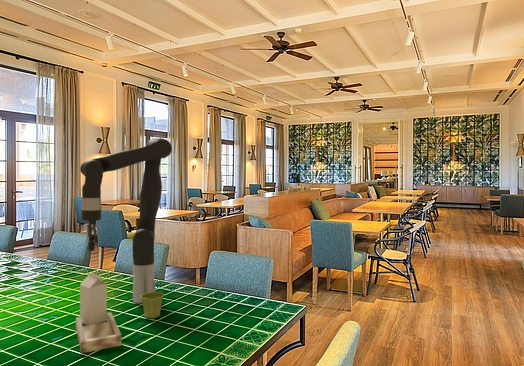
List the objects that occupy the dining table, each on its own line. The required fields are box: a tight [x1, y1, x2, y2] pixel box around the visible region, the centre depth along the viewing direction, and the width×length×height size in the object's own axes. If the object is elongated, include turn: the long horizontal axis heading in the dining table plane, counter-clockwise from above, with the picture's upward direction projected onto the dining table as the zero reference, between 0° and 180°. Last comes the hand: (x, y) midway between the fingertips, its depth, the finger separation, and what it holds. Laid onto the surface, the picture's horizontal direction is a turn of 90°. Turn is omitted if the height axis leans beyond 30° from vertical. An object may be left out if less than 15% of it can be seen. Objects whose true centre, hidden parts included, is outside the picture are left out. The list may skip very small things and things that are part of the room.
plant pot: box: [140, 291, 165, 319], centre depth 160 cm, size 9×9×9 cm
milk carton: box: [79, 272, 108, 326], centre depth 152 cm, size 7×7×19 cm
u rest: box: [75, 311, 123, 354], centre depth 140 cm, size 13×24×4 cm, turn 29°
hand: (91, 250), depth 160 cm, fingers closed
